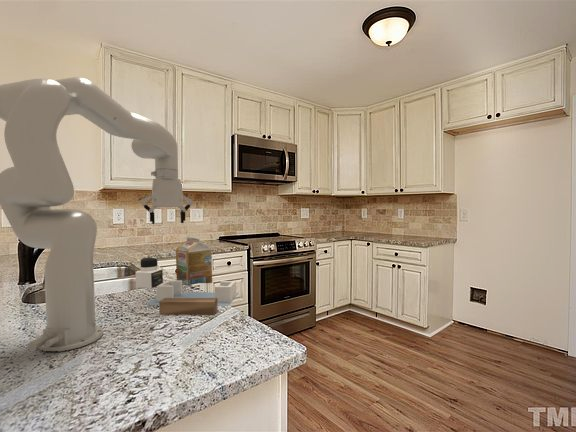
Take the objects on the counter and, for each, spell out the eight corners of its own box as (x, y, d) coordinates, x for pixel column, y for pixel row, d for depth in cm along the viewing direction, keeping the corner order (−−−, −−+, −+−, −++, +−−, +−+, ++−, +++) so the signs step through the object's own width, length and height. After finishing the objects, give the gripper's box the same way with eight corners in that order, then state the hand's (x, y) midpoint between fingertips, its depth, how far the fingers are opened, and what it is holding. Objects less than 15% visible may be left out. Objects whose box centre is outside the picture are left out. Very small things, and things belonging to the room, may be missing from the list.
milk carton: (176, 283, 126) (175, 238, 125) (199, 278, 133) (198, 236, 133) (188, 287, 118) (187, 239, 118) (212, 282, 126) (211, 237, 125)
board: (228, 309, 93) (228, 305, 93) (144, 308, 95) (144, 304, 95) (238, 295, 107) (238, 292, 107) (165, 294, 109) (165, 292, 109)
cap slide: (172, 301, 98) (171, 286, 97) (156, 301, 98) (156, 286, 98) (182, 294, 105) (182, 280, 105) (168, 294, 106) (167, 280, 106)
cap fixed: (230, 302, 96) (230, 287, 96) (214, 302, 97) (214, 286, 97) (236, 295, 104) (236, 281, 104) (221, 295, 104) (221, 281, 104)
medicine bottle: (152, 290, 115) (151, 259, 114) (135, 290, 116) (134, 259, 116) (163, 285, 122) (162, 256, 121) (147, 285, 123) (146, 256, 123)
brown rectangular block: (214, 319, 86) (213, 301, 86) (159, 318, 87) (159, 301, 86) (217, 314, 89) (217, 298, 89) (165, 314, 90) (164, 297, 90)
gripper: (139, 173, 100) (141, 224, 100) (193, 175, 107) (194, 223, 108) (140, 175, 107) (141, 223, 107) (190, 177, 114) (191, 222, 115)
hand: (168, 223), depth 107 cm, fingers open, 9 cm apart
